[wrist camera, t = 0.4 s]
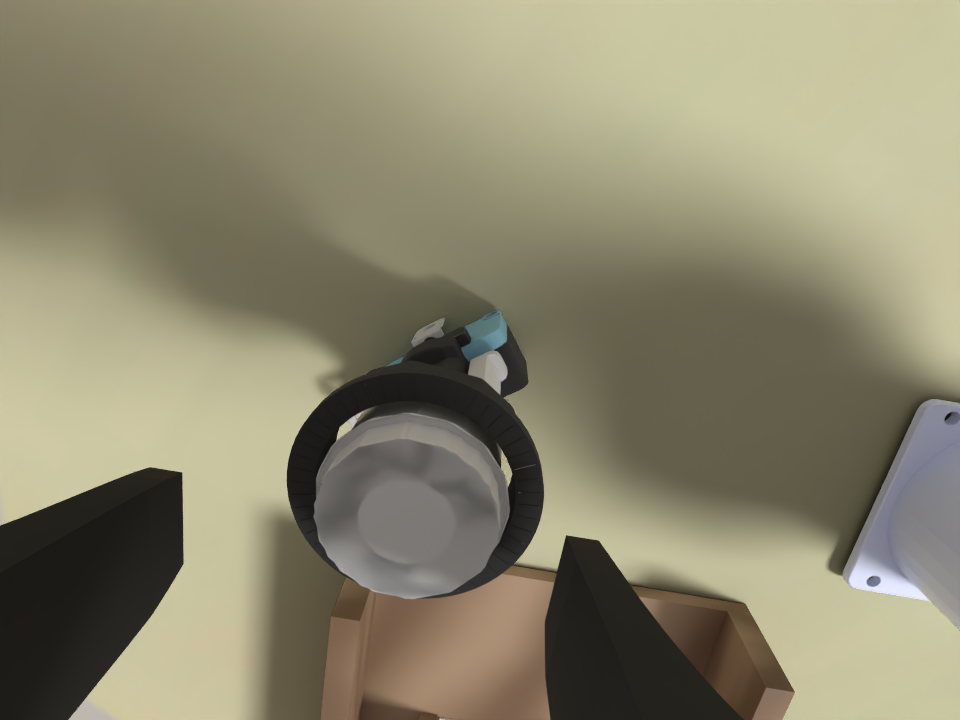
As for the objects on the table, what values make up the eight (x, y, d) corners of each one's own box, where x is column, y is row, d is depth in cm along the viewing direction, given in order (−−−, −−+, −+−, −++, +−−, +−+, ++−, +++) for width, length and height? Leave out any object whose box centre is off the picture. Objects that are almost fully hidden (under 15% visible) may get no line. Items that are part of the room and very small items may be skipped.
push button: (393, 460, 22) (306, 686, 12) (320, 341, 20) (155, 493, 11) (551, 388, 20) (592, 578, 11) (485, 257, 19) (465, 342, 9)
